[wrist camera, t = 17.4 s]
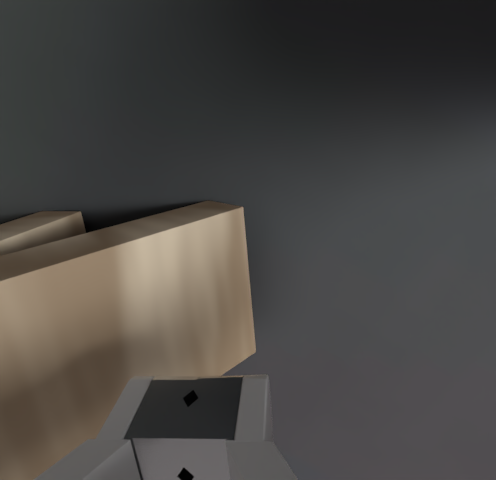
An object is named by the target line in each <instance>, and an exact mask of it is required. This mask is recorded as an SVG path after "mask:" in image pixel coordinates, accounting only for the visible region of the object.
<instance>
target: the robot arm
mask: <svg viewBox="0 0 496 480" xmlns="http://www.w3.org/2000/svg"><path fill="white" fill-rule="evenodd" d="M34 480H298V479H297V477H296V476H295V474H294V473H293V471H292V470H291V468H290V467H289V465H288V464H287V462H286V461H285V459H284V458H283V456H282V455H281V453H280V452H279V450H278V449H277V447H276V446H275V444H274V443H273V425H272V409H271V397H270V385H269V377H268V375H267V374H266V375H245V376H200V377H199V376H156V377H155V376H134V377H133V378H131V379H130V380H129V381H128V383H127V384H126V386H125V388H124V390H123V391H122V393H121V395H120V397H119V398H118V400H117V402H116V404H115V405H114V407H113V409H112V411H111V412H110V414H109V416H108V418H107V419H106V421H105V423H104V425H103V426H102V428H101V430H100V432H99V433H98V435H97V437H96V439H88V440H86V441H85V442H84V443H82V444H81V445H80V446H78V447H77V448H76V449H74V450H73V451H71V452H70V453H69V454H67V455H66V456H65V457H63V458H62V459H61V460H59V461H58V462H57V463H55V464H54V465H53V466H51V467H50V468H49V469H47V470H46V471H45V472H43V473H42V474H40V475H39V476H38V477H36V478H35V479H34Z"/></svg>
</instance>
